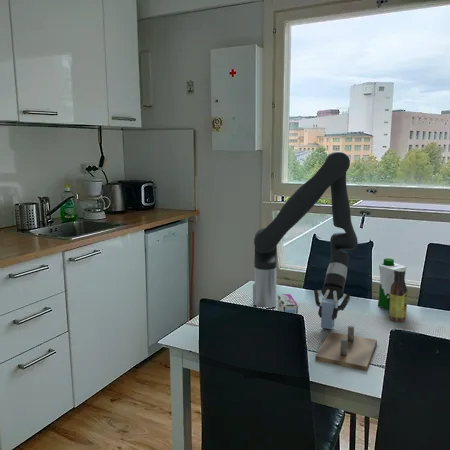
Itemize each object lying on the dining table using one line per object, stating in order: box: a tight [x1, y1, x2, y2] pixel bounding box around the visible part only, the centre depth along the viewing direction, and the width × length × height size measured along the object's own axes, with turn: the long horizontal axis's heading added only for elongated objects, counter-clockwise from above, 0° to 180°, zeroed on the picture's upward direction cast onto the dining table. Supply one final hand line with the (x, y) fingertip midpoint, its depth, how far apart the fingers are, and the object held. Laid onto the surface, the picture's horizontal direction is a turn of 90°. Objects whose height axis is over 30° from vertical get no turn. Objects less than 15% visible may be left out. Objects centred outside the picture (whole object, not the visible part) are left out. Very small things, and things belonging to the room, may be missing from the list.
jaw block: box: [320, 299, 336, 330], centre depth 163 cm, size 4×4×10 cm
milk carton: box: [377, 258, 407, 311], centre depth 182 cm, size 9×9×20 cm
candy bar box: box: [276, 293, 299, 314], centre depth 152 cm, size 11×5×16 cm, turn 5°
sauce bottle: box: [388, 269, 409, 323], centre depth 170 cm, size 7×6×20 cm
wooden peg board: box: [314, 325, 378, 372], centre depth 146 cm, size 16×20×6 cm
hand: (326, 317), depth 162 cm, fingers closed on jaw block, 4 cm apart
